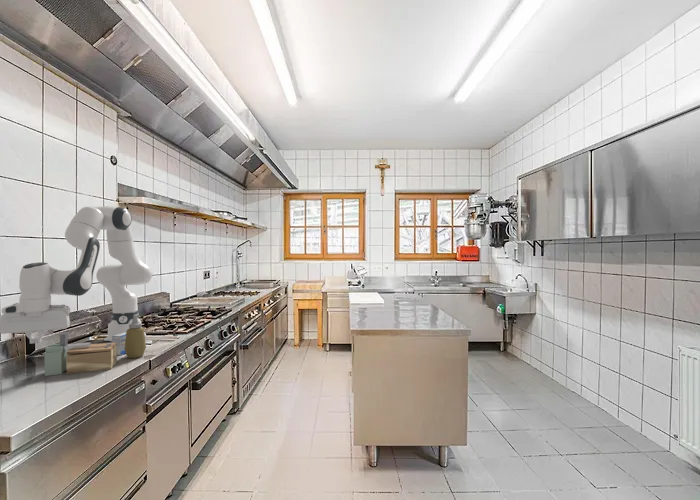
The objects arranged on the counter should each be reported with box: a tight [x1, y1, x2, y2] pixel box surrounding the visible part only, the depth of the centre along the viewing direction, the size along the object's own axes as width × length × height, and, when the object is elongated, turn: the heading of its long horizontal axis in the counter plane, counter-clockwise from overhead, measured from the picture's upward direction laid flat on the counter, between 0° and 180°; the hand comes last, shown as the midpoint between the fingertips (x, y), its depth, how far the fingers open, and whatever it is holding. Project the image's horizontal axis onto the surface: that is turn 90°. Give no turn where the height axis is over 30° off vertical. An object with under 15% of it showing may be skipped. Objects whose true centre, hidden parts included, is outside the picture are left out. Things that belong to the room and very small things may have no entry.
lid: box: [67, 342, 117, 354], centre depth 138 cm, size 10×14×1 cm
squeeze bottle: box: [124, 315, 147, 359], centre depth 152 cm, size 8×8×18 cm
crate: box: [66, 345, 118, 375], centre depth 138 cm, size 10×14×7 cm
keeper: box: [44, 343, 69, 377], centre depth 133 cm, size 7×5×10 cm
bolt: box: [59, 332, 92, 351], centre depth 136 cm, size 3×9×6 cm, turn 113°
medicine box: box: [111, 332, 126, 356], centre depth 158 cm, size 8×4×9 cm, turn 168°
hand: (35, 342), depth 131 cm, fingers closed
